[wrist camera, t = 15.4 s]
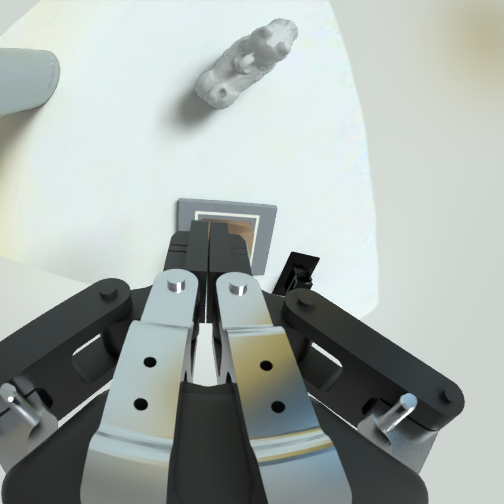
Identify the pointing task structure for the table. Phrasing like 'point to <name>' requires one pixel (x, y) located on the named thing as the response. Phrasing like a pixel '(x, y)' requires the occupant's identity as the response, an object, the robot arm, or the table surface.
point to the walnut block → (238, 231)
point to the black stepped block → (296, 273)
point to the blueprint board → (236, 211)
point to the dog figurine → (246, 63)
